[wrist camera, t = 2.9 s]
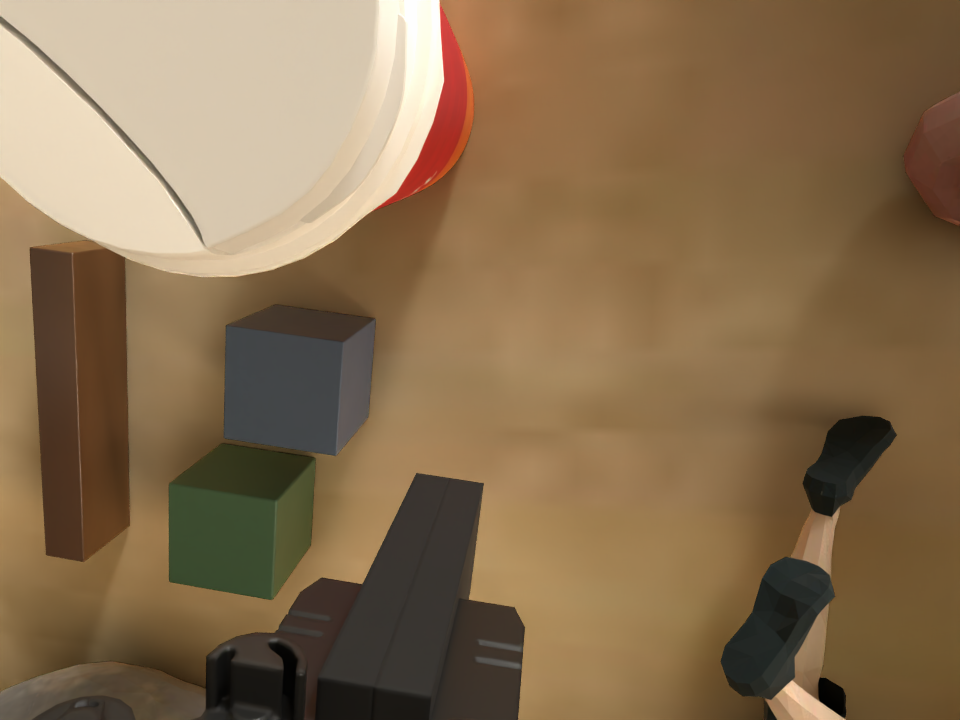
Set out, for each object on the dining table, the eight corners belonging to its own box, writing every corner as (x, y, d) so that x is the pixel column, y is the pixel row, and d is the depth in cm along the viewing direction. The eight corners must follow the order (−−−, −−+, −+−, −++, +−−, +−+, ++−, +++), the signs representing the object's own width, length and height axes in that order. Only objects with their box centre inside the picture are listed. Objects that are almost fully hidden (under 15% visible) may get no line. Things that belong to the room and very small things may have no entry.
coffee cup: (240, 153, 25) (-186, 117, 11) (340, -71, 23) (-29, -488, 9) (439, 271, 26) (277, 388, 11) (557, 60, 23) (546, -134, 9)
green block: (316, 457, 28) (277, 501, 24) (311, 545, 29) (272, 601, 25) (221, 442, 28) (167, 483, 25) (219, 530, 29) (167, 582, 26)
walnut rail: (125, 245, 27) (72, 252, 24) (130, 525, 30) (83, 562, 27) (85, 239, 27) (28, 247, 24) (95, 519, 30) (45, 555, 27)
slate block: (376, 318, 26) (344, 341, 23) (368, 417, 27) (336, 456, 24) (274, 304, 27) (225, 325, 23) (270, 403, 28) (223, 438, 24)
